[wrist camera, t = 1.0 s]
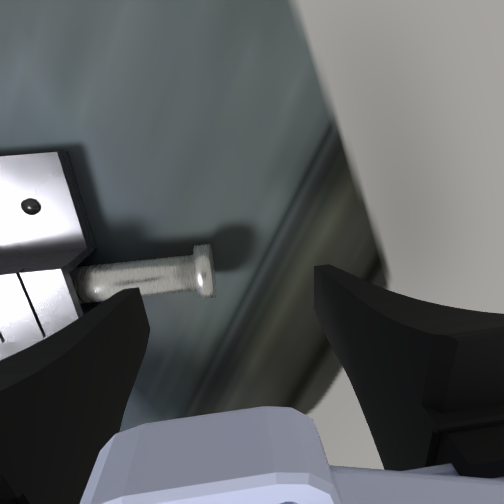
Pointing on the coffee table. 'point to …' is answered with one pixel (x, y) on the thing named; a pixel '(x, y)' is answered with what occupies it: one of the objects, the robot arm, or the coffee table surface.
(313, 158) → the coffee table surface
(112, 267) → the hinge pin
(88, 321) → the robot arm
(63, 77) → the coffee table surface
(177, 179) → the coffee table surface
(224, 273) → the coffee table surface
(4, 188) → the hinge leaves
